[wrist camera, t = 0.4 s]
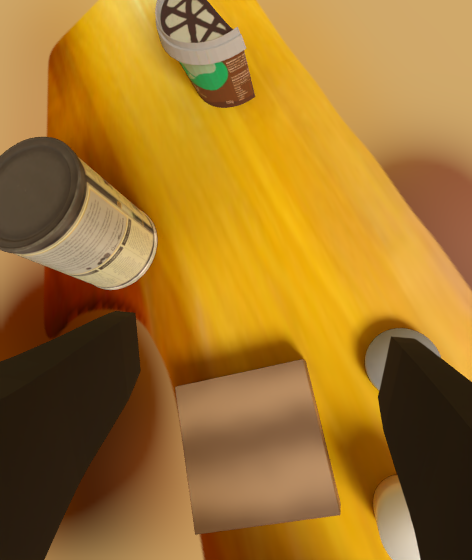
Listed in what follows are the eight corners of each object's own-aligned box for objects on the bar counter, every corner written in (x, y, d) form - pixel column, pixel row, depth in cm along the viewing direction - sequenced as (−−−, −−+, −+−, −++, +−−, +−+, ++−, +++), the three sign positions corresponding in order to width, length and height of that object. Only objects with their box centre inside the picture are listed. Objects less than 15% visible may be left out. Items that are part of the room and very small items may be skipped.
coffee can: (66, 279, 45) (-46, 236, 32) (98, 200, 47) (4, 129, 34) (139, 301, 42) (48, 263, 29) (170, 216, 44) (98, 143, 31)
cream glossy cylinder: (449, 539, 30) (471, 571, 25) (383, 547, 31) (391, 580, 26) (427, 469, 31) (443, 486, 26) (365, 479, 32) (369, 497, 27)
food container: (170, 74, 49) (130, 2, 40) (209, 44, 49) (178, -36, 40) (219, 136, 45) (187, 71, 36) (262, 104, 45) (241, 30, 35)
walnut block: (340, 503, 32) (340, 514, 29) (207, 522, 35) (195, 534, 32) (305, 361, 36) (302, 359, 33) (187, 386, 38) (175, 386, 35)
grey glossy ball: (447, 392, 33) (453, 392, 31) (375, 406, 34) (377, 407, 32) (423, 324, 34) (428, 321, 33) (356, 339, 36) (357, 336, 34)
